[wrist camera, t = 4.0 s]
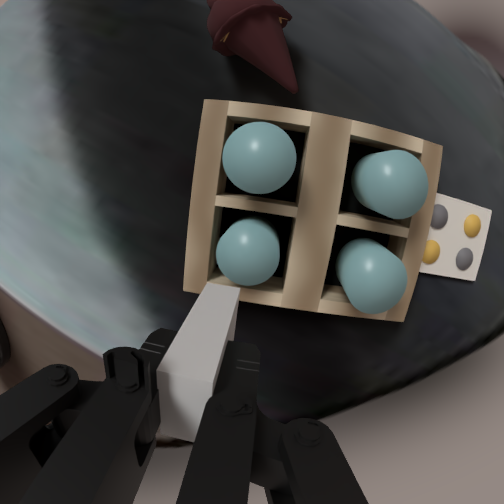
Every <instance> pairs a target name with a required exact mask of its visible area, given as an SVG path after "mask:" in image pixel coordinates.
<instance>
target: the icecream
mask: <svg viewBox="0 0 504 504" xmlns="http://www.w3.org/2000/svg"><path fill="white" fill-rule="evenodd" d="M207 3H208V5H209V7H210V9H211V11H210V14H209V16H208V19H207V29H208V31H209V33H210V35H211V37H212V40H213V46H212V49H213V50H216V51H218V52H219V53H221V54H222V55H224V56H232V55H236V54H237V55H238V56H240V57H241V58H243V59H244V60H246V61H248V62H249V63H251V64H252V65H254V66H255V67H257V68H258V69H259V70H261V71H262V72H264V73H265V74H267V75H268V76H270V77H271V78H272V79H274V80H275V81H276V82H278V83H279V84H280V85H282V86H283V87H284V88H286V89H287V90H288V91H290V92H291V93H293V94H295V93H297V92H298V91H299V89H298V84H297V80H296V76H295V73H294V69H293V65H292V62H291V58H290V54H289V51H288V47H287V44H286V40H285V37H284V33H283V30H282V28H284V27H285V26H286V24H287V21H290V20H291V19H292V16H291V15H290V14H289V13H288V12H287V11H286V10H285V9H284V8H283V7H282V6H281V5H279V4H276V3H275V2H274V1H273V0H207Z"/></svg>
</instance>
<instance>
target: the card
mask: <svg viewBox="0 0 504 504" xmlns="http://www.w3.org/2000/svg"><path fill="white" fill-rule="evenodd" d="M491 213H492V210H489V209H486V208H483V207H480V206H477V205H474V204H471V203H468V202H465V201H462V200H458V199H455V198H452V197H449V196H445V195H442V194H438V193H436V198H435V204H434V209H433V215H432V220H431V224H430V229H429V234H428V238H427V242H426V247H425V251H424V255H423V259H422V262H421V266H420V270H419V272H423V273H429V274H435V275H441V276H447V277H453V278H459V279H465V280H471V281H475V279H476V275H477V272H478V268H479V265H480V261H481V257H482V254H483V250H484V246H485V241H486V237H487V233H488V228H489V223H490V218H491Z"/></svg>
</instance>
